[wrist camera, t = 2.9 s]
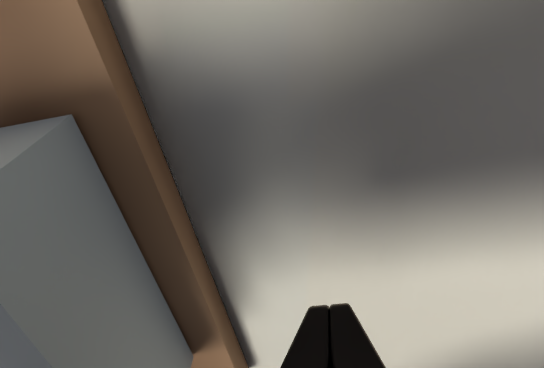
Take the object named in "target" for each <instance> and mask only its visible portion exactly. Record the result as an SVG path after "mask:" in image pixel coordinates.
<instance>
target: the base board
mask: <svg viewBox="0 0 544 368" xmlns="http://www.w3.org/2000/svg"><path fill="white" fill-rule="evenodd" d="M70 114H72V116H73V118H74V120H75V122H76V124H77V126H78V128H79V130H80V132H81V134H82V136H83V138H84V140H85V142H86V144H87V146H88V148H89V150H90V152H91V154H92V156H93V158H94V160H95V162H96V164H97V166H98V168H99V169H100V171H101V173H102V175H103V177H104V179H105V181H106V183H107V185H108V187H109V189H110V191H111V193H112V195H113V197H114V199H115V201H116V203H117V205H118V207H119V209H120V211H121V213H122V215H123V217H124V219H125V221H126V223H127V225H128V227H129V229H130V231H131V233H132V235H133V237H134V239H135V241H136V243H137V245H138V247H139V249H140V251H141V253H142V255H143V257H144V259H145V261H146V263H147V265H148V267H149V269H150V271H151V273H152V275H153V277H154V279H155V281H156V283H157V285H158V287H159V289H160V291H161V293H162V295H163V297H164V299H165V301H166V303H167V305H168V307H169V309H170V311H171V313H172V315H173V317H174V319H175V321H176V323H177V324H178V326H179V328H180V330H181V332H182V334H183V336H184V338H185V340H186V342H187V344H188V346H189V348H190V350H191V352H192V354H193V356H194V357H193V361H192V365H191V368H248V365H247V363H246V360H245V358H244V355H243V353H242V350H241V348H240V345H239V343H238V340H237V338H236V335H235V333H234V330H233V328H232V325H231V323H230V320H229V318H228V315H227V313H226V310H225V308H224V305H223V303H222V300H221V298H220V295H219V293H218V290H217V288H216V285H215V283H214V280H213V278H212V275H211V273H210V270H209V268H208V265H207V263H206V260H205V258H204V255H203V253H202V250H201V247H200V245H199V242H198V240H197V237H196V235H195V232H194V230H193V227H192V225H191V222H190V220H189V217H188V215H187V212H186V210H185V207H184V205H183V202H182V200H181V197H180V195H179V192H178V190H177V187H176V185H175V182H174V180H173V177H172V175H171V172H170V170H169V167H168V165H167V162H166V160H165V157H164V155H163V152H162V150H161V147H160V145H159V142H158V140H157V137H156V135H155V132H154V130H153V127H152V125H151V122H150V120H149V117H148V115H147V112H146V110H145V107H144V105H143V102H142V100H141V97H140V95H139V92H138V90H137V87H136V85H135V82H134V80H133V77H132V75H131V72H130V70H129V67H128V65H127V62H126V60H125V57H124V55H123V52H122V50H121V47H120V45H119V42H118V40H117V37H116V35H115V32H114V30H113V27H112V25H111V22H110V20H109V17H108V15H107V12H106V10H105V7H104V5H103V2H102V0H0V128H2V127H7V126H12V125H18V124H23V123H28V122H33V121H39V120H44V119H49V118H54V117H60V116H65V115H70Z"/></svg>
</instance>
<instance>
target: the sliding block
mask: <svg viewBox="0 0 544 368" xmlns="http://www.w3.org/2000/svg"><path fill="white" fill-rule="evenodd" d="M193 357H194V356H193V354H192V352H191V350H190V348H189V346H188V344H187V342H186V340H185V338H184V336H183V334H182V332H181V330H180V328H179V326H178V324H177V323H176V321H175V319H174V317H173V315H172V313H171V311H170V309H169V307H168V305H167V303H166V301H165V299H164V297H163V295H162V293H161V291H160V289H159V287H158V285H157V283H156V281H155V279H154V277H153V275H152V273H151V271H150V269H149V267H148V265H147V263H146V261H145V259H144V257H143V255H142V253H141V251H140V249H139V247H138V245H137V243H136V241H135V239H134V237H133V235H132V233H131V231H130V229H129V227H128V225H127V223H126V221H125V219H124V217H123V215H122V213H121V211H120V209H119V207H118V205H117V203H116V201H115V199H114V197H113V195H112V193H111V191H110V189H109V187H108V185H107V183H106V181H105V179H104V177H103V175H102V173H101V171H100V169H99V168H98V166H97V164H96V162H95V160H94V158H93V156H92V154H91V152H90V150H89V148H88V146H87V144H86V142H85V140H84V138H83V136H82V134H81V132H80V130H79V128H78V126H77V124H76V122H75V120H74V118H73V116H72V114H70V115H65V116H60V117H54V118H49V119H44V120H39V121H33V122H28V123H23V124H18V125H12V126H7V127H2V128H0V368H191V365H192V361H193Z"/></svg>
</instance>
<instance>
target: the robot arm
mask: <svg viewBox="0 0 544 368" xmlns="http://www.w3.org/2000/svg"><path fill="white" fill-rule="evenodd" d="M281 368H386V367H385V366H384V364H383V362H382V360H381V359H380V357H379V355H378V353H377V352H376V350H375V348H374V346H373V345H372V343H371V341H370V339H369V338H368V336H367V334H366V332H365V331H364V329H363V327H362V325H361V324H360V322H359V320H358V318H357V317H356V315H355V313H354V311H353V310H352V308H351V306H350V305H349V304H347V303H344V304H333V305H331V306H330V308H329V306H327V305H319V306H311V307H310V308H309V309H308V311H307V313H306V315H305V317H304V319H303V321H302V323H301V325H300V327H299V330H298V332H297V334H296V336H295V338H294V340H293V342H292V344H291V346H290V349H289V351H288V353H287V355H286V357H285V359H284V361H283V363H282V365H281Z"/></svg>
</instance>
